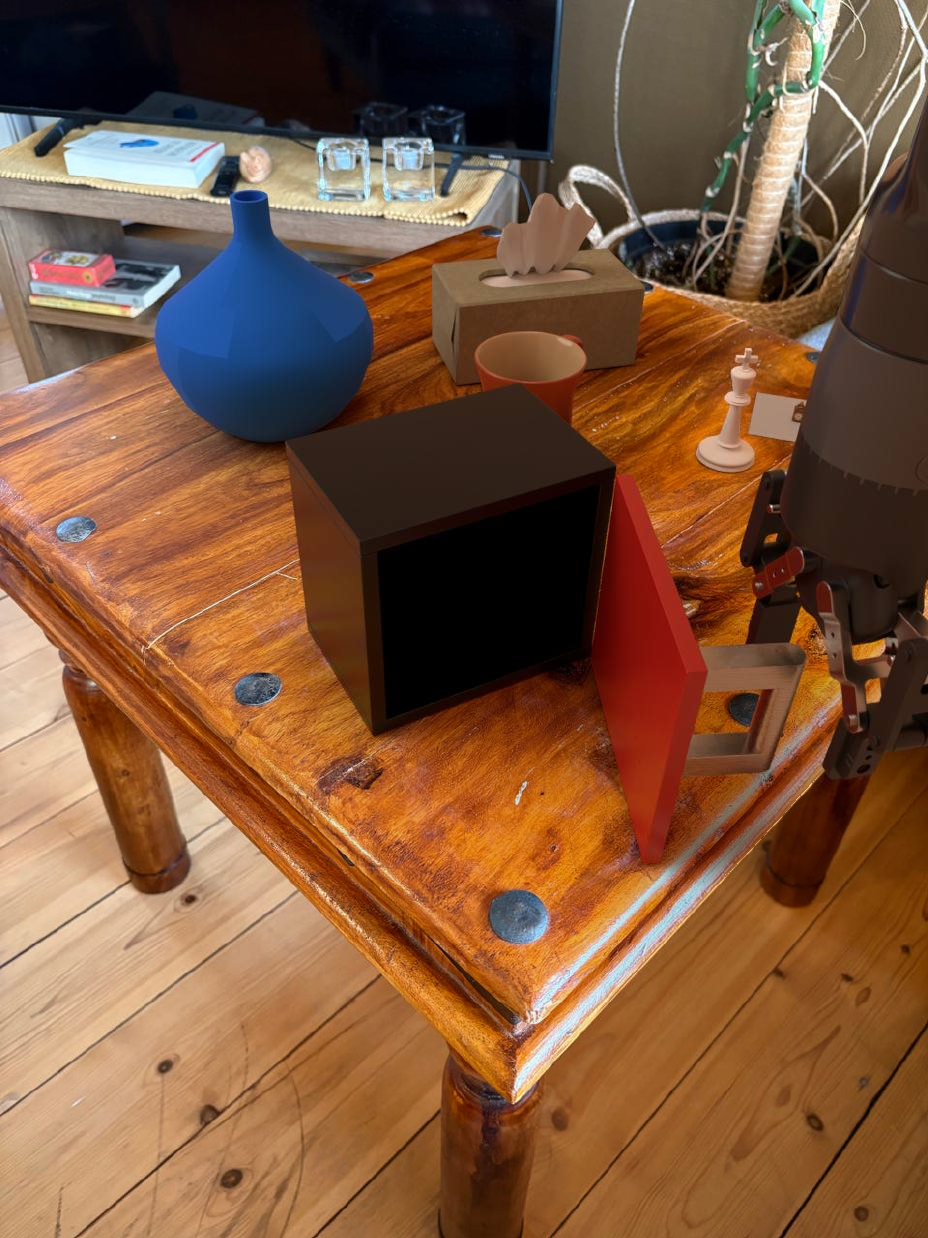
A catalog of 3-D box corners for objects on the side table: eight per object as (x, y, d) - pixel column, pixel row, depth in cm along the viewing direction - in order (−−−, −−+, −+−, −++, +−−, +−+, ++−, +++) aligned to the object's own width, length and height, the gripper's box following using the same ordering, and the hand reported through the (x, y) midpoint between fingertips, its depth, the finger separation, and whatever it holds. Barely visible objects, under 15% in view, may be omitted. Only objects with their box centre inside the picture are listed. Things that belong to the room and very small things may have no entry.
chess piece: (759, 473, 83) (787, 364, 77) (700, 472, 83) (723, 363, 77) (747, 442, 87) (773, 335, 81) (691, 441, 87) (712, 334, 81)
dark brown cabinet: (591, 655, 67) (617, 465, 57) (372, 737, 61) (359, 541, 51) (509, 564, 74) (520, 381, 64) (307, 629, 68) (284, 440, 58)
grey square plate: (748, 433, 88) (752, 415, 87) (756, 392, 94) (761, 374, 93) (841, 449, 86) (846, 431, 85) (844, 406, 92) (849, 388, 91)
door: (690, 656, 66) (733, 470, 57) (764, 856, 54) (834, 665, 45) (590, 660, 66) (615, 474, 56) (642, 864, 54) (687, 672, 44)
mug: (539, 510, 79) (549, 394, 72) (451, 473, 83) (452, 360, 76) (612, 446, 86) (627, 335, 80) (528, 415, 90) (535, 307, 83)
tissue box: (453, 386, 94) (454, 216, 83) (429, 341, 101) (427, 179, 90) (638, 365, 98) (661, 200, 87) (602, 322, 105) (620, 165, 94)
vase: (402, 448, 86) (396, 224, 73) (188, 486, 81) (141, 253, 68) (347, 354, 98) (333, 150, 86) (159, 382, 94) (115, 170, 81)
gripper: (1101, 522, 35) (947, 805, 46) (887, 343, 46) (802, 609, 56) (913, 548, 34) (799, 834, 45) (736, 358, 44) (679, 627, 55)
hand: (801, 708), depth 51 cm, fingers open, 8 cm apart
